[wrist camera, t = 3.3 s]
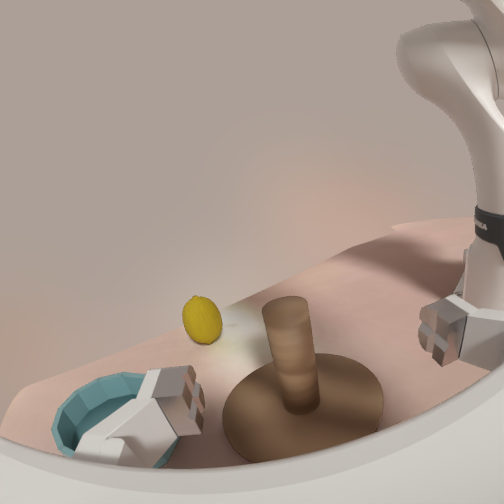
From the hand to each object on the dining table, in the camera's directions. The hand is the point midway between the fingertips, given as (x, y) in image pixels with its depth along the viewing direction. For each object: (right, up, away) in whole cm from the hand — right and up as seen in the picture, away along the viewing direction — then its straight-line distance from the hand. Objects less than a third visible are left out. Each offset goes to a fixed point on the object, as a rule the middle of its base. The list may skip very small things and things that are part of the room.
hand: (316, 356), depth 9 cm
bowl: (-16, -17, +15) cm, 28 cm away
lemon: (-8, -10, +32) cm, 34 cm away
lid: (+3, -12, +16) cm, 20 cm away
